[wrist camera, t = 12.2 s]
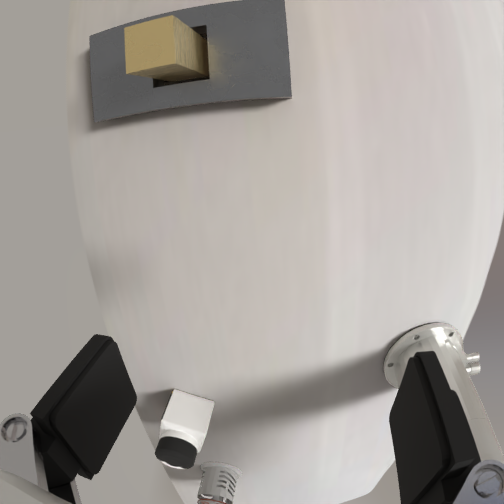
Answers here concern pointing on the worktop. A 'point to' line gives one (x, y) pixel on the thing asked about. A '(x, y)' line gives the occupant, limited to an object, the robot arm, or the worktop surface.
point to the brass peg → (165, 50)
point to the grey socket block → (219, 55)
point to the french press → (218, 483)
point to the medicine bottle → (183, 429)
